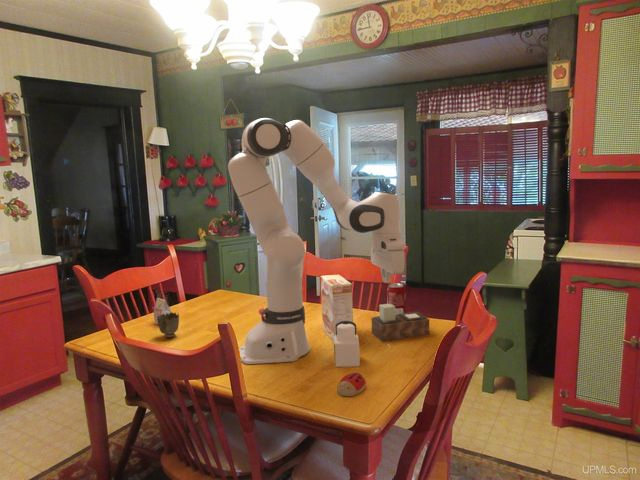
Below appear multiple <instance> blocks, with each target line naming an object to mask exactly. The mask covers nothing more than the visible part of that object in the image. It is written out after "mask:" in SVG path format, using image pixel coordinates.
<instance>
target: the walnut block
mask: <svg viewBox="0 0 640 480" xmlns="http://www.w3.org/2000/svg"><path fill="white" fill-rule="evenodd" d="M407 314H417V315H418V316H420V317H416V318H408V317H406V316H405V315H407ZM371 334H372V335H374V337H375V338H376V339H378V340H379V341H380V342H381V343H383V342H391V341H398V340H400V341H401V340H406V339H413V338H420V337H426V336H430V319H429V318H427V317H426V316H425V315H424V314H422V313H420V312H419V311H410V312H406V313H402V314H397V315H395V320H392V321H382V320H381V319H380V315H379V316H378V315H377V316H373V317H371Z"/></svg>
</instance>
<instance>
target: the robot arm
mask: <svg viewBox="0 0 640 480" xmlns="http://www.w3.org/2000/svg"><path fill="white" fill-rule="evenodd" d="M239 145H240V149H239V153H237V154H235V155H234V156H233V157H232V158H230V160H229V161H228V164H227V170H228V174H229V177H230V181H231V184H232V186H233V189H234V192H235V193H236V195H237V198H238V200H239V202H240V204H241V206H242V208H243V211H244V213H245V214H246V217H247V219H248V221H249V223H250V226H251V228H252V231H253V232H254V234H255V237H256V239H257V241H258V244H259V246H260V248H261V250H262V252H263V254H264V256H266V260H267V271H266V272H267V273H266V282H265V283H266V284H265V287H266V290H265V291H266V308H264V307H259V308H258V314H259V315H260V316H261V321H259V322H258V323H257V324H255V325H254V327H252V328H250V330H249V331H248V332H247V334H246V336H245V341H244V345H241V346H240V347H239V349H238V351H239V350H240V356H241V360H240V362H242V363H244V364H246V365H252V364H253V365H254V364H255V365H258V364H271V363H272V364H273V363H286V362H287V363H288V362H290V363H291V362H295V361H298V359H299V358H301V357H303V356H305V355H306V354H308V353H309V352H310V350H311V347H310V344H309V341H308V337H307V332H306V328H305V324H306V310H305V306H304V302H303V273H304V272H303V271H304V263H305V261H304V260H305V255H306V249H305V244H304V241H303V239H302V238H301V236H300V235H298V234H297V233H296V232H294V231H293V230H292V228H291V226H290V223H289V220H288V218H287V215H286V212H285V209H284V205H283V202H282V201H281V198H280V196H279V194H278V192H277V189H276V187H275V185H274V183H273V181H272V179H271V177H270V174H269V173H268V170H267V166H266V164H267V163H266V162H267V158H269V157H272V156H275V155H277V154H280V153H282V154H284V155H285V156H287V157H288V158H289V159H290V160H291V162H292V163H293V164H294V166H295V168H297V169H298V170H299V172H301V173H302V175H303V176H304V177H305V178H306V179H307V180H309V181H310V183H311V184H313V185H314V186H315V188H317V190H318V191H319V192H320V194H321V195H322V196H323V197H324V199H325V200H326V202H328V204H329V205H330V207H331V209H332V210H333V214H334V217H335V221H336V222H337V224H338V226H339V227H340V228H341V229H343V230H345V231H350V232H355V233H359V234H365V233H369V232H370V233H371V232H372V234H371V235H372V244H371V246H370V247H371V249H370V262H371V265H374V266H376V267H378V268H379V269H380V274H381V277H382V282H384V283H386V284H391V282H392V279H391V278H392V275H402V274H403V273H404V271H405V262H406V261H405V260H406V258H405V251H404V250H406V247H407V245H406V242H405V241H404V239H403V238H402V237H401V234H400V233H401V230H400V225H399V221H400V216H401V215H400V214H401V213H400V203H399V198H398V195H397V194H396V193H394V192H390V191H382V190H376V191H374V192H373V193H372V194H371V195H370V196H368V197H367V198H364V199H363V200H361V201H356V200H353V199H351V198H350V197H349V196H348V195H347V194H346V193H345V191H344V190H343V188H342V187H341V185H340V184H339V183H338V181H337V179H335V176H334V169H335V165H336V164H335V162H336V161H335V158H334V156H333V155H332V153H331V151H330V149H329V148H328V146H327V144H325V142H324V141H323V140H322V139H321V137H320V136H319V135H318V134H317V133H316V132H315V131H314V130H313V129H312V128H311V126H309V125H308V124H307V123H305V122H304V121H303V120H301V119H295V120H291V121H289V122H286V123H285V124H284V123H282V122H280V121H277V120H275V119H273V118H270V117H269V118H268V117H263V118H261V117H260V118H258V119H254V120H252V121H250V122H249V123H248V124H247V125H246V126H245V127H244V129H243V130H242V133H241V136H240V144H239Z"/></svg>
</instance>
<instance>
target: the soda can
mask: <svg viewBox="0 0 640 480" xmlns="http://www.w3.org/2000/svg"><path fill="white" fill-rule="evenodd" d="M404 286H405V285H404V284H403V283H396V282H395V283H388V287H387V290H386V291H387V293H386V295H387V297H386V299H387V303H386V304H392V305H393V306H395V315H397V314H402V313H407V311H406V310H407V309H406V308H407V307H406V305H407V304H406V288H405V287H404Z"/></svg>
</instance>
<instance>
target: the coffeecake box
mask: <svg viewBox="0 0 640 480" xmlns="http://www.w3.org/2000/svg"><path fill="white" fill-rule="evenodd" d="M320 289H321V293H320V295H321V311H322V313H321V314H322V315H321V316H322V317H321V318H322V330H323V331H324V332H325V334H326V335H327V337H328V338H330V340H331V341H332V343H334V336H335V335H336V324H337V323H339V322H341V321H351V322H354V312H353V311H354V310H353V304H354V303H353V283H351V282H350V281H348V280H347V279H346V278H344V277H343V276H341V275H340V274H332V275H331V274H330V275H329V274H328V275H321V276H320Z"/></svg>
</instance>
